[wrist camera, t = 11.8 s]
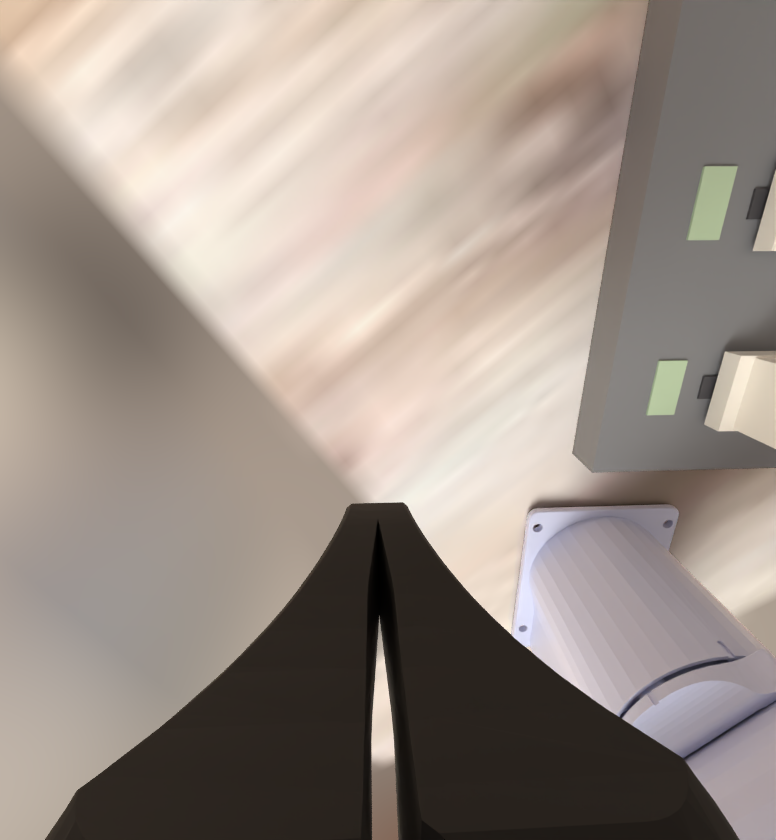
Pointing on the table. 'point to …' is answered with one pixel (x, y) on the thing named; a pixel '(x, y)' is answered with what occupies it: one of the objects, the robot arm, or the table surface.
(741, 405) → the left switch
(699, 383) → the switch panel
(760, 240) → the switch
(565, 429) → the table surface
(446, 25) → the table surface
